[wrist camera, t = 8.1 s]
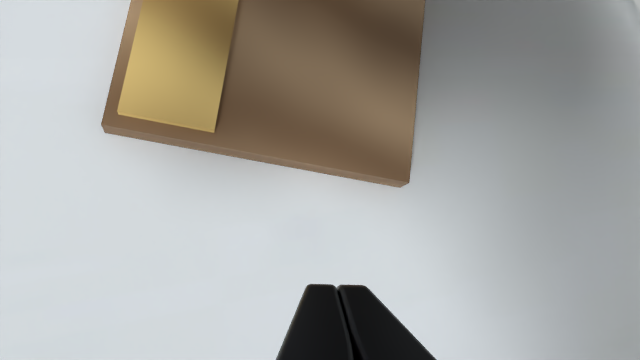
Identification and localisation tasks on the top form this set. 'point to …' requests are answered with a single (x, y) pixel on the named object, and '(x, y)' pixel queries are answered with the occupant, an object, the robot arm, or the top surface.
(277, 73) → the tuner board
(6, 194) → the top surface
